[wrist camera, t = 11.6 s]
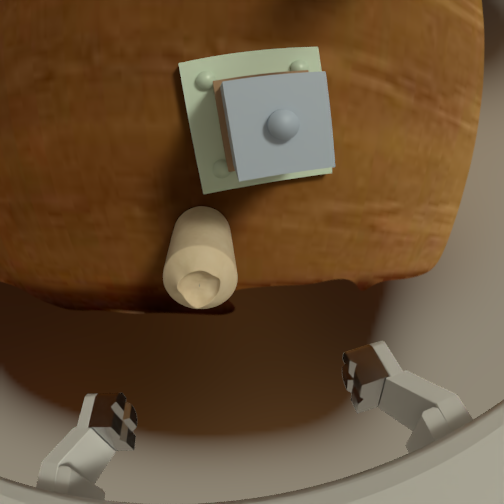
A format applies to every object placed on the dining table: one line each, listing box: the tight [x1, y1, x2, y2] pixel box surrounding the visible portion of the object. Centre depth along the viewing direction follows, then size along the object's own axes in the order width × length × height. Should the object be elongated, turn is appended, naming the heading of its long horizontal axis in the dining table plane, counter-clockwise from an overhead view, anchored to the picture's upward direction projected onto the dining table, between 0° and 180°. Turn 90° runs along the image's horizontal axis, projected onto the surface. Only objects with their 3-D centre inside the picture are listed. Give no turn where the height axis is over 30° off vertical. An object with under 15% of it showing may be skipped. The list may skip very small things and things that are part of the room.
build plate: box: [178, 47, 332, 194], centre depth 25 cm, size 12×12×1 cm
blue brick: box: [220, 71, 335, 181], centre depth 19 cm, size 6×6×5 cm
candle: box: [163, 206, 238, 309], centre depth 25 cm, size 6×6×10 cm
